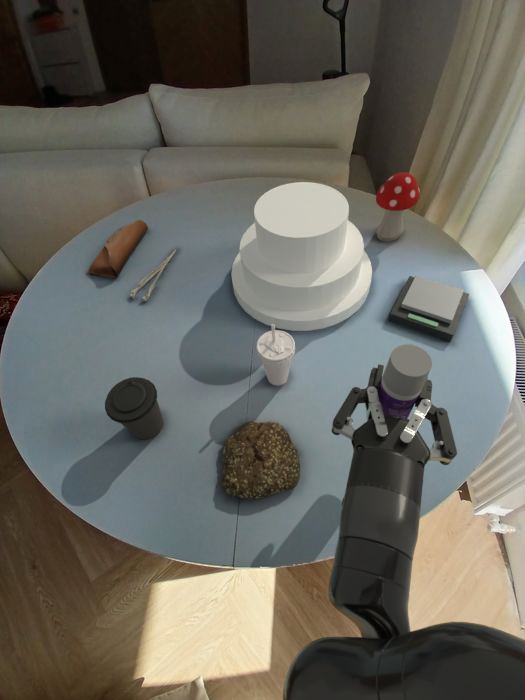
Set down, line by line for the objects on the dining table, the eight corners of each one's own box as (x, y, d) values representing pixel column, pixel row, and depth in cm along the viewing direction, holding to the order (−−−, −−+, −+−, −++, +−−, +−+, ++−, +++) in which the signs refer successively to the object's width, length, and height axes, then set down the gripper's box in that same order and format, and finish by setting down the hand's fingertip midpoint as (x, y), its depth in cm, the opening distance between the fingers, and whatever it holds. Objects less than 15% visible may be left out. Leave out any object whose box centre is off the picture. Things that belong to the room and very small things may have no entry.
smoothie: (285, 357, 74) (283, 306, 63) (301, 383, 71) (302, 333, 60) (254, 371, 73) (247, 321, 62) (269, 397, 69) (264, 350, 58)
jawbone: (148, 302, 86) (145, 295, 84) (130, 298, 87) (127, 291, 85) (185, 256, 96) (184, 249, 95) (169, 253, 97) (167, 246, 96)
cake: (324, 222, 99) (328, 151, 85) (399, 297, 82) (420, 224, 68) (213, 262, 92) (198, 192, 78) (269, 352, 75) (263, 284, 61)
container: (382, 443, 54) (407, 384, 42) (361, 416, 56) (380, 353, 44) (409, 428, 55) (442, 366, 43) (388, 402, 57) (414, 337, 45)
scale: (465, 300, 80) (471, 290, 78) (450, 342, 74) (455, 332, 72) (407, 282, 84) (410, 272, 82) (388, 320, 78) (391, 310, 76)
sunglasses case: (119, 226, 102) (123, 208, 97) (144, 240, 104) (150, 222, 99) (85, 273, 92) (88, 255, 87) (114, 287, 94) (119, 270, 89)
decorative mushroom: (386, 252, 91) (400, 192, 79) (360, 233, 95) (370, 174, 83) (417, 235, 93) (435, 175, 81) (391, 218, 98) (404, 158, 86)
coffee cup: (157, 396, 71) (139, 364, 63) (180, 427, 67) (164, 398, 59) (116, 422, 68) (93, 393, 60) (138, 457, 64) (115, 430, 56)
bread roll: (304, 496, 59) (304, 485, 55) (221, 504, 59) (216, 494, 55) (293, 419, 67) (293, 404, 63) (220, 426, 67) (215, 412, 63)
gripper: (468, 516, 36) (471, 369, 46) (315, 471, 39) (348, 342, 49) (443, 536, 42) (450, 401, 51) (311, 494, 45) (342, 376, 55)
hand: (400, 373), depth 50 cm, fingers closed on container, 4 cm apart
